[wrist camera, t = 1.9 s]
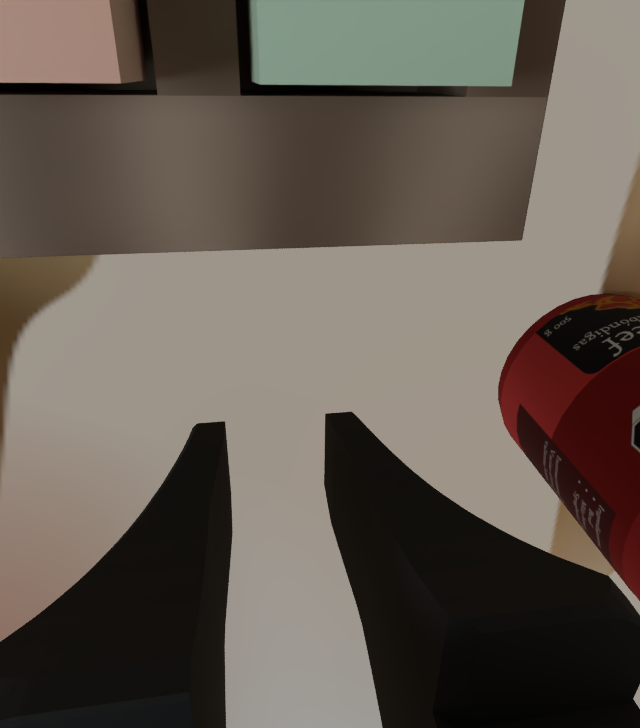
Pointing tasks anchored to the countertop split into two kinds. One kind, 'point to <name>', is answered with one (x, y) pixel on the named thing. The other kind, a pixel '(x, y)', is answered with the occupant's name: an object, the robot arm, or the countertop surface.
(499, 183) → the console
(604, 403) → the canned food
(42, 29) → the key terracotta
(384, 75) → the key green
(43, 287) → the countertop surface
